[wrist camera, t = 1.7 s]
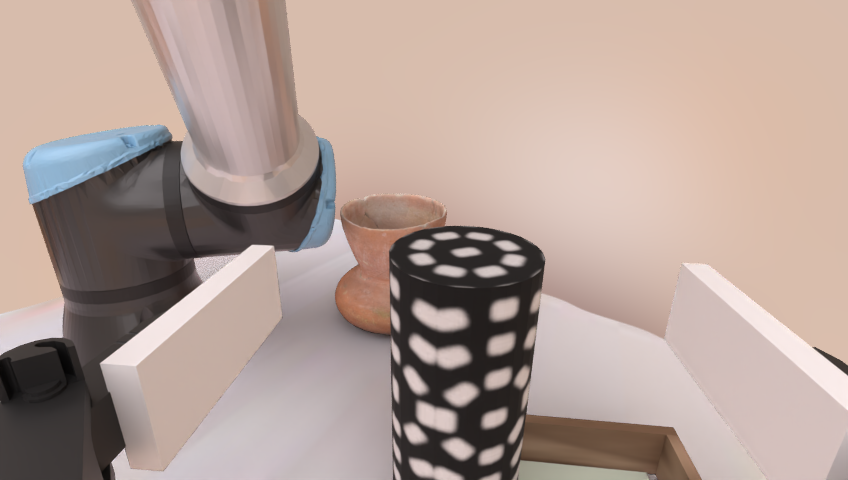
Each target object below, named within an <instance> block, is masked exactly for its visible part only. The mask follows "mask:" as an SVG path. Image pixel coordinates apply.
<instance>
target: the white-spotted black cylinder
mask: <svg viewBox="0 0 848 480" xmlns="http://www.w3.org/2000/svg"><path fill="white" fill-rule="evenodd" d="M544 265H545V257H544V255H543V253H542V251H541V250H540V249H539V248H538V247H537V246H536V245H534V244H533V243H531V242H530V241H528V240H526V239H524V238H522V237H519V236H517V235H514V234H511V233H507V232H504V231H500V230H495V229H489V228H483V227H472V226H444V227H434V228H428V229H423V230H419V231H415V232H412V233H410V234H407V235H405V236H403V237H401V238H399V239H398V240H396V241H395V242H394V243H393V244H392V245H391V248H390V250H389V279H390V333H391V387H392V441H393V480H518V476H519V468H520V460H521V452H522V444H523V435H524V427H525V419H526V411H527V403H528V395H529V387H530V379H531V371H532V363H533V354H534V346H535V338H536V330H537V322H538V314H539V306H540V298H541V289H542V282H543V274H544Z"/></svg>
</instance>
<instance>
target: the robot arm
mask: <svg viewBox="0 0 848 480" xmlns="http://www.w3.org/2000/svg"><path fill="white" fill-rule="evenodd" d="M131 1H132V3H133V6H134V8H135V10H136V13H137V15H138V17H139V19H140V22H141V24H142V26H143V29H144V31H145V33H146V36H147V38H148V40H149V42H150V45H151V47H152V49H153V52H154V54H155V56H156V59H157V61H158V63H159V65H160V67H161V70H162V72H163V75H164V77H165V79H166V81H167V84H168V86H169V88H170V91H171V93H172V95H173V98H174V100H175V102H176V104H177V107H178V109H179V111H180V114H181V116H182V118H183V120H184V123H185V125H186V128H187V130H188V132H187V133H186V135H185V137H184V140H183V141H172V140H171V139H172V134H171V133H170V132H169V130H168V129H167V127H165V126H163V125H155V126H154V125H151V126H148V125H146V126H137V127H128V128H121V129H114V130H108V131H102V132H96V133H90V134H85V135H80V136H75V137H70V138H66V139H61V140H57V141H53V142H49V143H46V144H42V145H40V146H37V147H35V148H33V149H32V150H30V151H29V152H28V153H27V155H26V156H25V158H24V162H23V169H24V174H25V179H26V183H27V188H28V192H29V203H30V204H32V205H33V208H34V211H35V214H36V217H37V220H38V223H39V226H40V229H41V232H42V235H43V238H44V241H45V243H46V247H47V250H48V253H49V255H50V259H51V262H52V264H53V267H54V270H55V273H56V276H57V279H58V282H59V285H60V288H61V291H62V294H63V298H64V302H65V304H64V314H63V338H49V339H43V340H37V341H34V342H30V343H27V344H24V345H21V346H18V347H16V348H14V349H12V350H9V351H7V352H5V353H3V354H2V355H0V480H115V473H114V469H113V466H112V463H111V462H112V461H113V460H114V458H115V457H116V456H117V455H118V454H119V453H120V452H121V451H122V450H123V449H124V448H125V451H126V454H127V458H128V461H129V464H130V468H131V469H141V470H152V471H164V470H165V469H166V468H167V466H168V465H169V464H170V462H171V461H172V460H173V459H174V457H175V456H176V455H177V453H178V452H179V451H180V449H181V448H182V447H183V446H184V444H185V443H186V442H187V440H188V439H189V438H190V437H191V435H192V434H193V433H194V431H195V430H196V429H197V427H198V426H199V425H200V424H201V422H202V421H203V420H204V418H205V417H206V416H207V415H208V413H209V412H210V411H211V409H212V408H213V407H214V405H215V404H216V403H217V402H218V400H219V399H220V398H221V396H222V395H223V394H224V393H225V391H226V390H227V389H228V387H229V386H230V385H231V383H232V382H233V381H234V380H235V378H236V377H237V376H238V374H239V373H240V372H241V371H242V369H243V368H244V367H245V365H246V364H247V363H248V361H249V360H250V359H251V358H252V356H253V355H254V354H255V352H256V351H257V350H258V349H259V347H260V346H261V345H262V343H263V342H264V341H265V339H266V338H267V337H268V336H269V334H270V333H271V332H272V330H273V329H274V328H275V327H276V325H277V324H278V323H279V321H280V320H281V319H282V309H281V300H280V292H279V284H278V275H277V267H276V258H275V252H276V251H290V252H298V251H300V250H301V249H308V248H316V247H320V246H322V245H324V244H325V243H326V242H327V241H328V240H329V238H330V236H331V234H332V230H333V225H334V217H335V203H334V201H335V196H336V172H335V160H334V153H333V149H332V146H331V144H330V142H329V141H327V140H326V139H323V138H319V137H317V136H316V135H315V133H314V131H313V129H312V127H311V126H310V125H309V123H308V122H307V121H306V120H305V119H304V118H302V117H301V116H300V115H299V114H298V108H297V100H296V91H295V83H294V73H293V65H292V56H291V47H290V38H289V30H288V21H287V12H286V3H285V0H131ZM239 254H240V255H239ZM226 255H238V256H237V257H236V258H235V259H233V260H232V261H231V262H229V263H228V264H227V265H226V266H224V267H223V268H222V269H221V270H219V271H218V272H217V273H215V274H214V275H213V276H212V277H210V278H209V279H208V280H206V281H205V282H204V283H203V282H202V280H201V279H200V277H199V275H198V273H197V271H196V267H195V262H194V258H203V257H213V256H226ZM664 340H665V341H666V342H667V344H668V345H669V346H670V348H671V349H672V350H673V352H674V353H675V355H676V356H677V357H678V359H679V360H680V361H681V363H682V364H683V365H684V367H685V368H686V369H687V371H688V372H689V374H690V375H691V376H692V378H693V379H694V380H695V382H696V383H697V384H698V386H699V387H700V389H701V390H702V391H703V393H704V394H705V395H706V397H707V398H708V399H709V401H710V402H711V403H712V405H713V406H714V408H715V409H716V410H717V412H718V413H719V414H720V416H721V417H722V418H723V420H724V421H725V422H726V424H727V425H728V427H729V428H730V429H731V431H732V432H733V433H734V435H735V436H736V437H737V439H738V440H739V441H740V443H741V444H742V446H743V447H744V448H745V450H746V451H747V452H748V454H749V455H750V456H751V458H752V459H753V460H754V462H755V463H756V465H757V466H758V467H759V469H760V470H761V471H762V473H763V474H764V475H765V477H766V478H767V479H768V480H848V365H846V364H845V363H843V362H842V361H841V360H839V359H837V358H835V357H833V356H831V355H829V354H827V353H825V352H824V351H822V350H820V349H817V348H816V347H811V346H810V345H808V344H807V343H806V342H805V341H803V340H802V339H801V338H800V337H798V336H797V335H796V334H795V333H793V332H792V331H791V330H790V329H788V328H787V327H786V326H785V325H783V324H782V323H781V322H779V321H778V320H777V319H776V318H775V317H773V316H772V315H771V314H769V313H768V312H767V311H766V310H764V309H763V308H762V307H761V306H759V305H758V304H757V303H756V302H754V301H753V300H752V299H750V298H749V297H748V296H747V295H745V294H744V293H743V292H742V291H740V290H739V289H738V288H737V287H736V286H734V285H733V284H732V283H730V282H729V281H728V280H727V279H725V278H724V277H723V276H722V275H720V274H719V273H718V272H717V271H715V270H714V269H713V268H712V267H710V266H709V265H708V264H692V263H681V267H680V272H679V277H678V281H677V285H676V289H675V294H674V298H673V302H672V307H671V311H670V316H669V320H668V324H667V329H666V333H665V338H664Z"/></svg>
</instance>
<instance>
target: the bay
mask: <svg viewBox="0 0 848 480" xmlns="http://www.w3.org/2000/svg"><path fill="white" fill-rule="evenodd" d="M647 473H648V474H656V476H657V479H658V480H702V479H701V477H700V476H699V474H698V472H697V470H696V468H695V466H694V465H693V463H692V461H691V459H690V457H689V455H688V453H687V452H686V450H685V448H684V446H683V444H682V442H681V441H680V439H679V437H678V435H677V433H676V431H675V430H674V428H673V427H662V426H651V425H639V424H628V423H616V422H605V421H593V420H582V419H571V418H559V417H548V416H536V415H526V419H525V427H524V435H523V444H522V452H521V460H520V468H519V476H518V480H649V477H648V475H647Z"/></svg>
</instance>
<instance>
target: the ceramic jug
mask: <svg viewBox="0 0 848 480" xmlns="http://www.w3.org/2000/svg"><path fill="white" fill-rule="evenodd" d="M340 215H341V222H342V226H343V230H344V232H345V235H346V238H347V240H348V243H349V245H350V247H351V250H352V252H353V254H354V256H355V258H356V260H357V262H358V263H359V265H357V266H355V267H354V268H352V269H351V270H349V271H348V272H347V273H346V274H345V275H344V276H343V277H342V278H341V280H340V281H339V283H338V286H337V288H336V292H335V300H336V304H337V307H338V309H339V311H340V313H341V314H342V316H343V317H344V318H345V319H346V320H347V321H348V322H350V323H351V324H353V325H354V326H356V327H358V328H360V329H363V330H366V331H369V332H373V333H379V334H388V335H391V333H390V279H389V250H390V248H391V245H392V244H393V243H394V242H395V241H396V240H398V239H399V238H401V237H403V236H405V235H407V234H410V233H412V232H415V231H419V230H423V229H428V228H434V227H444V226H445V222H446V215H447V210H446V208H445V206H444V205H443V204H441V203H440V202H439V201H437V200H434V199H432V198H429V197H424V196H420V195H410V194H376V195H370V196H366V197H365V198H364V200H361V199H359V198H357V199H354V200H352V201H349V202H348V203H346V204H345V205H344V206H343V207H342V208H341V212H340Z"/></svg>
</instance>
